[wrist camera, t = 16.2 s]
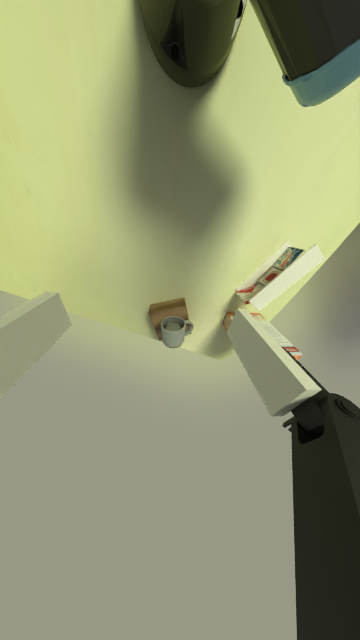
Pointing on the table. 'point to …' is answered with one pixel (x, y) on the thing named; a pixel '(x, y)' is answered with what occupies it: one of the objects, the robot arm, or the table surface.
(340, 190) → the table surface
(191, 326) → the ceramic mug
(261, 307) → the white packet holder
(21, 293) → the table surface
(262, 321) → the cracker box
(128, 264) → the table surface
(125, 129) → the table surface
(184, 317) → the walnut block
